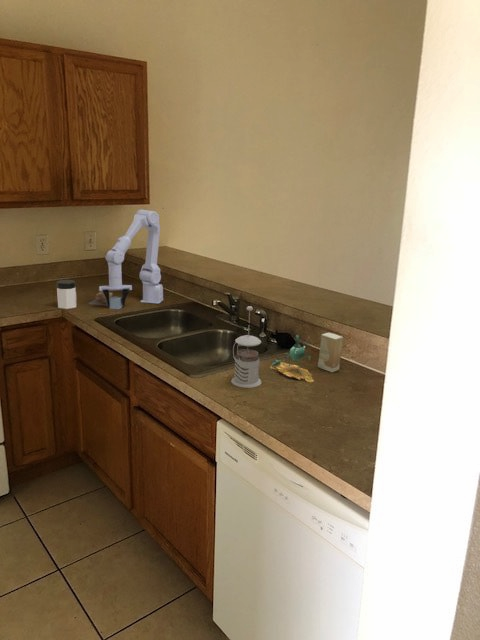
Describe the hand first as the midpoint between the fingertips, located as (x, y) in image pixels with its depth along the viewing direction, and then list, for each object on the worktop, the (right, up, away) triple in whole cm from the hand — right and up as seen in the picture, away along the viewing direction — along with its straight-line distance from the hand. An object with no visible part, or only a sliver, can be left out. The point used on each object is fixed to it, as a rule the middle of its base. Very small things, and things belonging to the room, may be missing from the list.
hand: (116, 305), depth 243 cm
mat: (-8, +2, +9) cm, 12 cm away
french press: (+59, -26, -74) cm, 98 cm away
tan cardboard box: (-8, +2, +9) cm, 12 cm away
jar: (-22, -1, 0) cm, 22 cm away
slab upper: (-8, +4, +8) cm, 12 cm away
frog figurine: (+75, -25, -67) cm, 104 cm away
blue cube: (0, -1, 0) cm, 1 cm away
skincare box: (+88, -24, -62) cm, 110 cm away
